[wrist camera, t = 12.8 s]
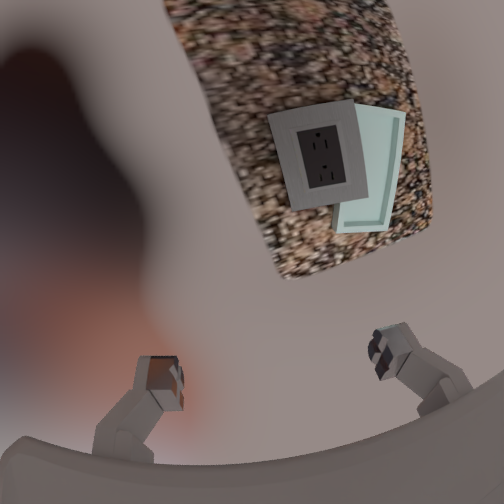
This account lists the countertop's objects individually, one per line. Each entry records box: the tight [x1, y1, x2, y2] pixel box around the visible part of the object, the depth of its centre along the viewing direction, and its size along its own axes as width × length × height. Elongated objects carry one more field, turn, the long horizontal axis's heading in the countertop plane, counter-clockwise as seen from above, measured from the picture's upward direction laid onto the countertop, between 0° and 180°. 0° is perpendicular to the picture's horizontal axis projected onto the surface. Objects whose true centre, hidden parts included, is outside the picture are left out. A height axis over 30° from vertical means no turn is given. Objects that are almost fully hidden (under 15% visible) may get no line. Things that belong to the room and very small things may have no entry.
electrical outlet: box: [267, 99, 369, 212], centre depth 32 cm, size 13×10×2 cm
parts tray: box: [332, 103, 406, 233], centre depth 35 cm, size 18×9×2 cm, turn 1°
